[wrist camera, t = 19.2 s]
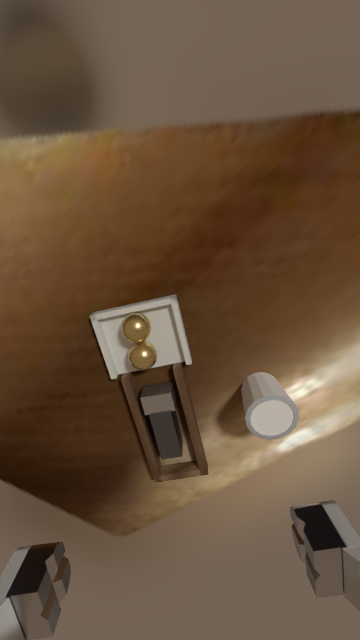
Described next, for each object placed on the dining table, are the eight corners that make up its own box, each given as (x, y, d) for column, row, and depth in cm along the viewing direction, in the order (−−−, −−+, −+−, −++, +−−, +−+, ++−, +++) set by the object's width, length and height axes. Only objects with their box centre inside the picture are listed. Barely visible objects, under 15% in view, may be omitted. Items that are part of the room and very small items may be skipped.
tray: (176, 294, 39) (175, 296, 38) (191, 359, 43) (191, 363, 41) (92, 312, 41) (89, 315, 39) (113, 374, 44) (111, 379, 42)
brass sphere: (161, 352, 43) (154, 333, 40) (159, 374, 40) (151, 354, 37) (135, 356, 43) (126, 337, 41) (131, 377, 40) (121, 358, 38)
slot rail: (181, 361, 43) (181, 367, 41) (207, 464, 49) (208, 474, 47) (123, 372, 44) (120, 379, 42) (156, 472, 50) (155, 482, 48)
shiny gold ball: (155, 324, 41) (147, 304, 39) (154, 346, 38) (145, 325, 36) (128, 329, 42) (118, 309, 39) (125, 351, 39) (114, 331, 36)
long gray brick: (170, 394, 41) (186, 455, 44) (172, 380, 44) (186, 438, 47) (139, 399, 41) (157, 459, 44) (143, 385, 44) (159, 442, 48)
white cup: (257, 415, 45) (269, 449, 39) (227, 388, 44) (234, 418, 37) (292, 388, 44) (310, 419, 37) (262, 359, 42) (275, 385, 36)
